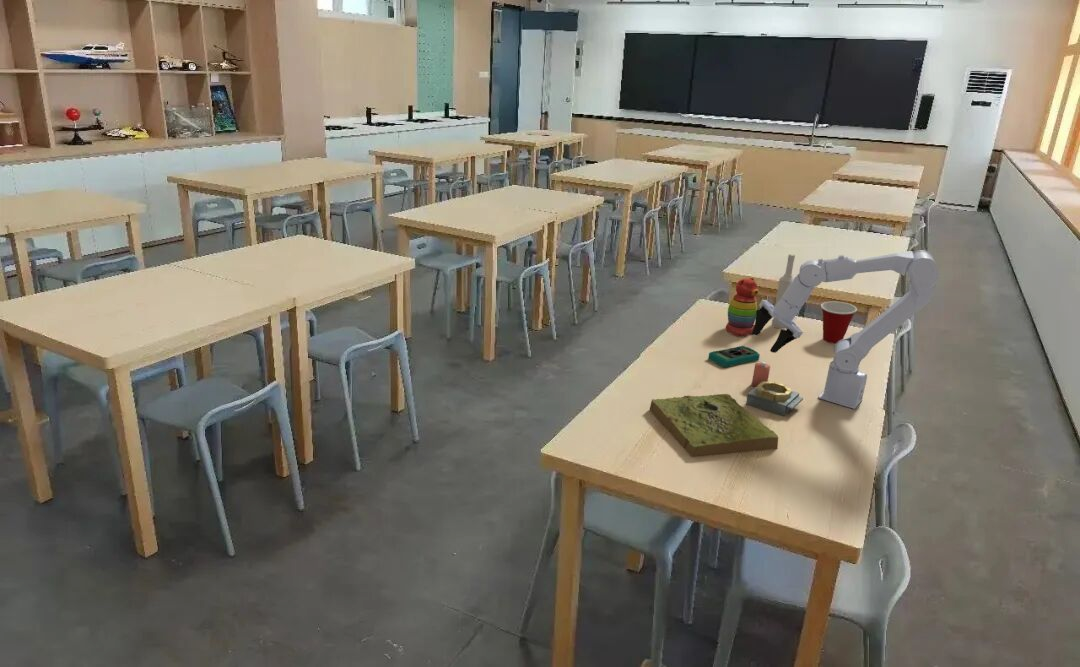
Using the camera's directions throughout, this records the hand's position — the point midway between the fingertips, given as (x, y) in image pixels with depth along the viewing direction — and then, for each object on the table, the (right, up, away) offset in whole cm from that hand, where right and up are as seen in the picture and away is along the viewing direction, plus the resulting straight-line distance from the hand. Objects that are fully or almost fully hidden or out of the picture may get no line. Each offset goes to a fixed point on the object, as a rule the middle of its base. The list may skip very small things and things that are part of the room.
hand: (763, 343), depth 198 cm
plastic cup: (+34, 0, +39) cm, 52 cm away
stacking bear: (+6, +3, +44) cm, 45 cm away
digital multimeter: (-3, -6, +20) cm, 21 cm away
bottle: (+21, +5, +50) cm, 54 cm away
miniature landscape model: (-20, -21, -23) cm, 37 cm away
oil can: (0, -12, +2) cm, 12 cm away
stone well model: (0, -16, -8) cm, 18 cm away
